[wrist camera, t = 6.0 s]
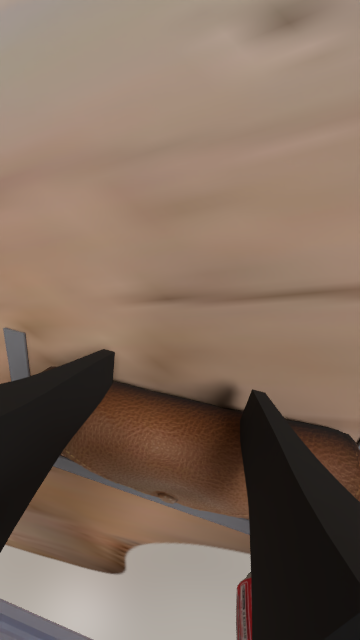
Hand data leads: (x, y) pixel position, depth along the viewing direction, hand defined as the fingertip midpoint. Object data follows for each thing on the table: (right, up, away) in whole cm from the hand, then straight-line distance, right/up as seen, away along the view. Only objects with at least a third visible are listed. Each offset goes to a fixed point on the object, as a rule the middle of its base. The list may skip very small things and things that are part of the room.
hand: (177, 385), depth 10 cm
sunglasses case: (0, -4, +4) cm, 6 cm away
